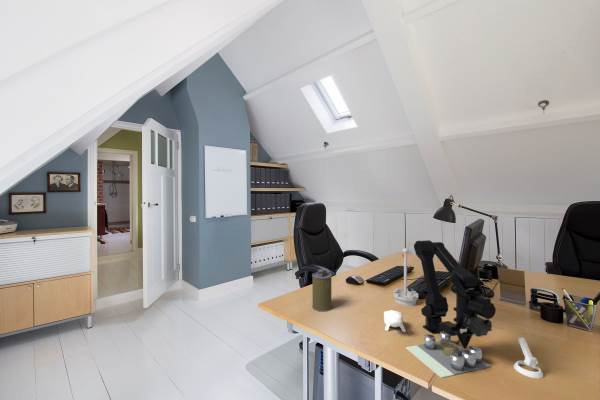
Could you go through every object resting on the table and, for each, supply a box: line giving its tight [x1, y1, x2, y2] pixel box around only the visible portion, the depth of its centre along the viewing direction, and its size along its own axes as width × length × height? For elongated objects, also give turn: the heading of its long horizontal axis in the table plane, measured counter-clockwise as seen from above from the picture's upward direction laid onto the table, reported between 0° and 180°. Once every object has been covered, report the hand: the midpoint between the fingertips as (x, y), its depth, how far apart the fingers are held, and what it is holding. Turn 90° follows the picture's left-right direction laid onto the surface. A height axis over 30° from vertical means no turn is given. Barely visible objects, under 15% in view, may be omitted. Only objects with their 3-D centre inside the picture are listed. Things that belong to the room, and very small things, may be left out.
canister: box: [311, 268, 333, 312], centre depth 144 cm, size 11×10×20 cm
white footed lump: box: [383, 309, 407, 333], centre depth 121 cm, size 9×8×15 cm
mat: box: [405, 339, 492, 379], centre depth 100 cm, size 18×21×1 cm
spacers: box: [423, 331, 483, 371], centre depth 101 cm, size 18×14×4 cm
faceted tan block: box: [441, 341, 458, 357], centre depth 102 cm, size 5×6×3 cm
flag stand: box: [392, 247, 419, 307], centre depth 151 cm, size 13×13×30 cm
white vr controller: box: [513, 336, 544, 379], centre depth 94 cm, size 8×12×7 cm
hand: (464, 347), depth 104 cm, fingers closed
